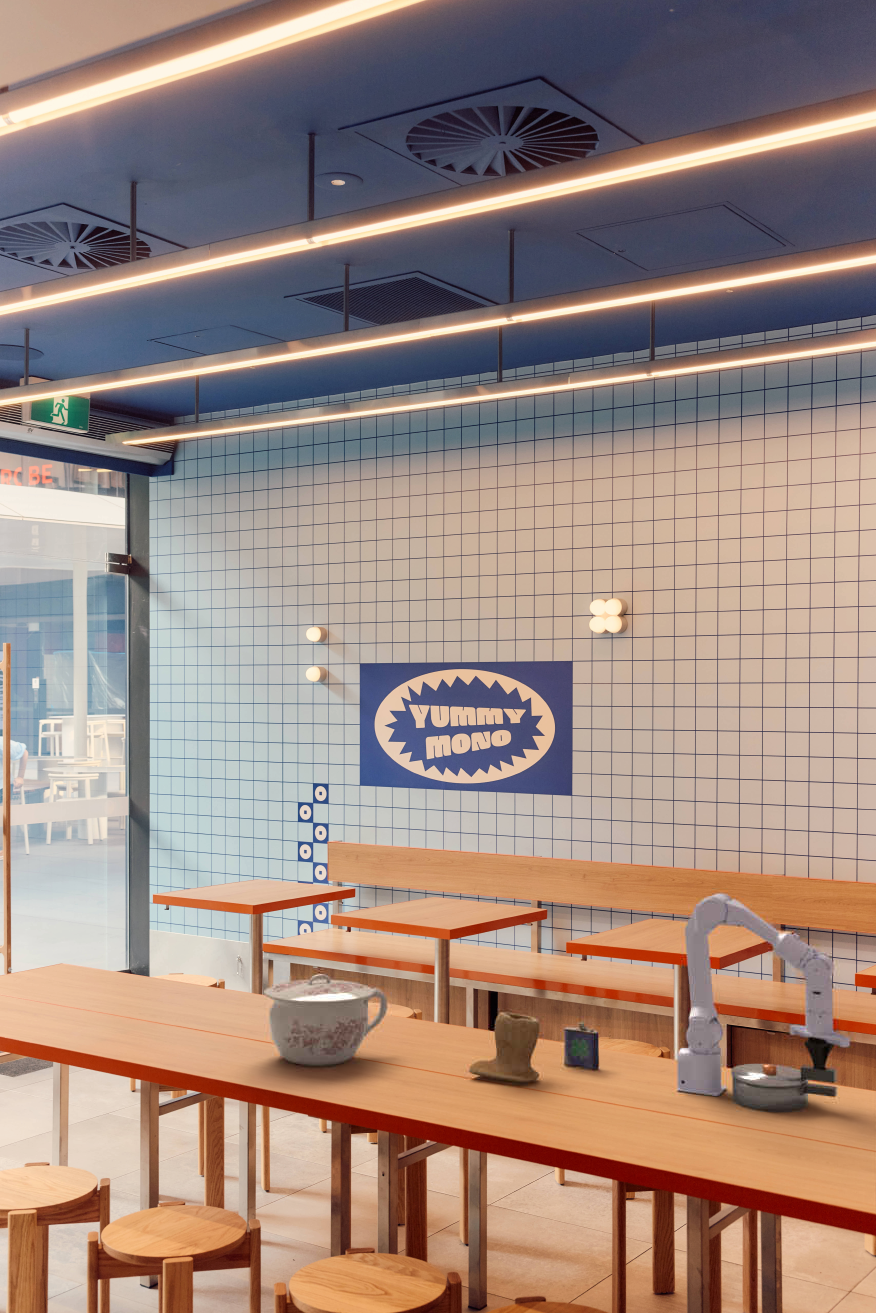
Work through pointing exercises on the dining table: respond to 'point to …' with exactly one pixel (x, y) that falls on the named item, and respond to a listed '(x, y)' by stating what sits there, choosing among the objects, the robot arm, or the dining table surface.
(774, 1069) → the cooker lid
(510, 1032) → the brown boot
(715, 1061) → the robot arm
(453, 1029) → the dining table surface
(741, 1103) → the cooker pot
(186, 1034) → the dining table surface
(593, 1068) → the flask
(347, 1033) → the chamber pot
